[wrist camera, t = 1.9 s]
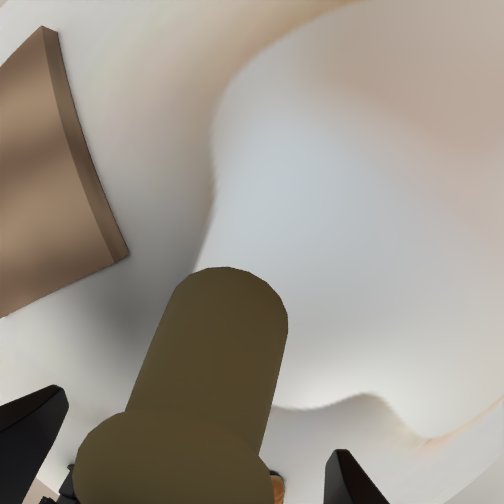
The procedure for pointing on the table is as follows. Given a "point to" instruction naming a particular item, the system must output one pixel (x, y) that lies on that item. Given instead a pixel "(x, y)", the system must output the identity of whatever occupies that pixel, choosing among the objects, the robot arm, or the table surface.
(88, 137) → the table surface
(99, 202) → the walnut board
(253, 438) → the olive rounded upright piece
